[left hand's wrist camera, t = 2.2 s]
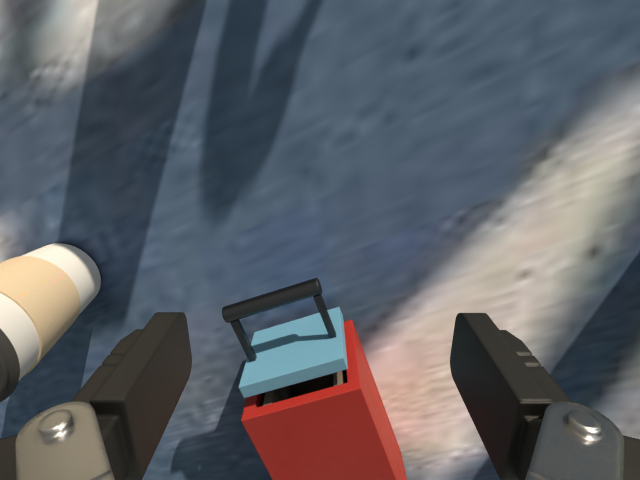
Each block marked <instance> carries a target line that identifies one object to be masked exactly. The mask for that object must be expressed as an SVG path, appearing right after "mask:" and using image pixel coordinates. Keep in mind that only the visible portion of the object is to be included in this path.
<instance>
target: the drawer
mask: <svg viewBox="0 0 640 480" xmlns="http://www.w3.org/2000/svg"><path fill="white" fill-rule="evenodd" d="M321 294H322V288H321V285H320V282H319V280H318V278H314V279H311V280H308V281H305V282H302V283H298V284H295V285H292V286H289V287H286V288H282V289H279V290H276V291H273V292H270V293H266V294H263V295H260V296H257V297H254V298H250V299H247V300H244V301H241V302H238V303H235V304H231V305H228V306H225V307H223V308H222V315H223V318H224V320H225V321H226V322H231V325H232V327H233V329H234V331H235V333H236V335H237V337H238V339H239V341H240V343H241V345H242V347H243V349H244V351H245V353H246V355H247V360H246V363H245V367H244V370H243V374H242V377H241V380H240V384H239V389H240V391H241V393H242V395H243V397H244V398H247V397H250V396H254V395H257V394H261V393H265V392H266V393H265V398H264V403H263V406H264V405H268V404H272V403H275V402H279V401H283V400H286V399H290V398H293V397H297V396H301V395H304V394H308V393H311V392H315V391H319V390H322V389H326V388H330V387H333V386H337V385H340V384H344V383H348V382H347V372H346V369H348V365H347V354H346V344H345V333H344V322H343V315H342V312H341V310H340V307H337V308H333V309H330V310H327V308H326V306H325V303H324V301H323V298H322V296H321ZM313 296H314V300H315V302H316V305H317V307H318V310H319V312H320V313H317V314H313V315H310V316H307V317H303V318H300V319H297V320H294V321H290V322H287V323H284V324H280V325H277V326H274V327H270V328H267V329H264V330H260V331H257V332H254V336H253V339H252V343H250V341H249V339H248V337H247V335H246V333H245V331H244V329H243V327H242V325H241V323H240V321H239V319H241V318H245V317H248V316H251V315H254V314H258V313H261V312H264V311H267V310H271V309H274V308H277V307H280V306H284V305H287V304H290V303H293V302H297V301H300V300H303V299H306V298H310V297H313Z"/></svg>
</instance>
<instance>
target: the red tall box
mask: <svg viewBox="0 0 640 480" xmlns="http://www.w3.org/2000/svg"><path fill="white" fill-rule="evenodd" d="M344 333H345V344H346V354H347V365H348V369H346V372H347V382H348V383H344V384H340V385H337V386H333V387H330V388H326V389H322V390H319V391H315V392H311V393H308V394H304V395H301V396H297V397H293V398H290V399H286V400H283V401H279V402H275V403H272V404H268V405H264V406H263V403H264V398H265V393H266V392H265V393H261V394H257V395H254V396H250V397H247V398H246V402H245V406H244V410H243V414H242V418H241V422H242V424H243V426H244V428H245V429H246V431H247V433H248V435H249V437H250V439H251V441H252V443H253V444H254V446H255V448H256V450H257V452H258V454H259V456H260V457H261V459H262V461H263V463H264V465H265V467H266V469H267V470H268V472H269V474H270V476H271V478H272V480H407V478H406V473H405V469H404V464H403V460H402V455H401V451H400V449H399V446H398V443H397V441H396V438H395V435H394V432H393V430H392V427H391V424H390V422H389V419H388V416H387V413H386V411H385V408H384V405H383V403H382V400H381V397H380V394H379V392H378V389H377V386H376V384H375V381H374V378H373V376H372V373H371V370H370V367H369V365H368V362H367V359H366V357H365V354H364V351H363V348H362V346H361V343H360V340H359V338H358V335H357V332H356V329H355V327H354V324H353V321H352V320H349V321H345V322H344Z"/></svg>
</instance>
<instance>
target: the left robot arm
mask: <svg viewBox="0 0 640 480" xmlns="http://www.w3.org/2000/svg"><path fill="white" fill-rule="evenodd" d="M191 366H192V356H191V348H190V341H189V334H188V327H187V320H186V316H185V314H184V313H183V312H157V313H155V314H154V316H153V317H152V318H151V320H150V321H149V322H148V324H147V325H146V326H145V328H144V329H137V330H135V331H134V332H132V333H131V334H129V335H128V336H126V337H125V338H123V339H122V340H120V342H119V343H118V344H117V345H116V347H115V348H114V349H113V350H112V352H111V354H110V355H108V356H107V358H106V359H105V360H104V361H103V363H102V366H99V367H98V369H97V370H96V371H95V372H94V374H93V375H92V376H91V377H90V378H89V380H88V381H87V382H86V383H85V385H84V386H83V387H82V388H81V390H80V391H79V392H78V393H77V394H76V396H75V397H74V398H73V399H72V401H71V402H67V403H63V404H59V405H56V406H53V407H51V408H49V409H47V410H45V411H43V412H41V413H39V414H38V415H36V416H35V417H34V418H32V419H31V420H30V421H29V422H28V423H26V424H25V425H24V427H23V428H22V429H21V430H20V432H19V434H18V435H15V436H10V437H6V438H2V439H0V480H142V478H143V476H144V474H145V471H146V469H147V467H148V465H149V463H150V461H151V459H152V456H153V454H154V452H155V450H156V448H157V446H158V443H159V441H160V439H161V437H162V435H163V433H164V431H165V428H166V426H167V424H168V422H169V420H170V418H171V415H172V413H173V411H174V409H175V407H176V405H177V403H178V400H179V398H180V396H181V394H182V392H183V390H184V387H185V385H186V383H187V381H188V379H189V376H190V372H191ZM450 367H451V373H452V377H453V380H454V382H455V384H456V386H457V388H458V390H459V392H460V395H461V397H462V399H463V401H464V403H465V405H466V407H467V409H468V412H469V414H470V416H471V418H472V420H473V422H474V424H475V426H476V429H477V431H478V433H479V435H480V437H481V439H482V441H483V444H484V446H485V448H486V450H487V452H488V454H489V456H490V458H491V461H492V463H493V465H494V467H495V469H496V471H497V473H498V475H499V478H500V480H640V439H635V438H631V437H627V436H624V435H622V434H621V432H620V430H619V429H618V428H617V427H616V425H615V424H614V423H612V422H611V421H610V420H609V419H608V418H606V417H605V416H604V415H602V414H601V413H599V412H597V411H595V410H593V409H591V408H589V407H587V406H584V405H581V404H577V403H573V402H572V401H571V400H570V399H569V398H568V397H567V395H566V394H565V393H564V392H563V391H562V389H561V388H560V387H559V386H558V384H557V383H556V382H555V381H554V380H553V378H552V377H551V376H550V375H549V374H548V372H547V371H546V370H545V369H544V367H541V364H540V363H539V361H538V360H537V359H536V358H535V356H532V353H531V352H530V350H529V349H528V348H527V347H526V346H525V344H524V343H523V342H522V341H521V340H520V339H518V338H517V337H515V336H514V335H512V334H511V333H509V332H508V331H506V330H499V329H498V328H497V326H496V325H495V324H494V323H493V321H492V320H491V319H490V317H489V316H488V315H487V314H486V313H459V314H458V315H457V317H456V321H455V327H454V335H453V342H452V349H451V356H450Z"/></svg>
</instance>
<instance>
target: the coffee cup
mask: <svg viewBox="0 0 640 480" xmlns="http://www.w3.org/2000/svg"><path fill="white" fill-rule="evenodd" d="M100 286H101V277H100V272H99V270H98V267H97V266H96V264H95V262H94V261H93V260H92V259H91V258H90V257H89V256H88V255H87V254H86V253H85V252H83V251H82V250H80V249H78V248H76V247H74V246H71V245H68V244H61V243H57V244H50V245H47V246H44V247H42V248H39V249H37V250H35V251H32V252H30V253H27V254H25V255H22V256H20V257H15V258H11V259H9V260H6V261H4V262H1V263H0V402H2V401H3V400H5V399H6V398H7V397H9V396H10V395H11V393H12V392H13V391H14V389H15V388H16V386H17V384H18V381H19V380H20V379H21V378H22V377H23V376H24V375H26V374H27V373H29V372H30V371H31V370H32V369H33V368H34V367H35V366H36V365H37V364H38V362H39V361H40V360H41V359H42V358H43V357H44V356H45V355H46V353H47V352H48V351H49V350H50V349H51V348H52V347H53V345H54V344H55V343H56V342H57V341H58V340H59V339H60V337H61V336H62V335H63V334H64V333H65V332H66V331H67V329H68V328H69V327H70V326H71V325H72V324H73V323H74V321H75V320H76V318H77V317H78V315H79V314H80V313H81V312H82V311H83V310H84V309H85V308H86V307H87V306H88V304H89V303H90V302H91V301H92V300H93V299H94V298H95V297H96V295H97V294H98V292H99V290H100Z"/></svg>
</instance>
